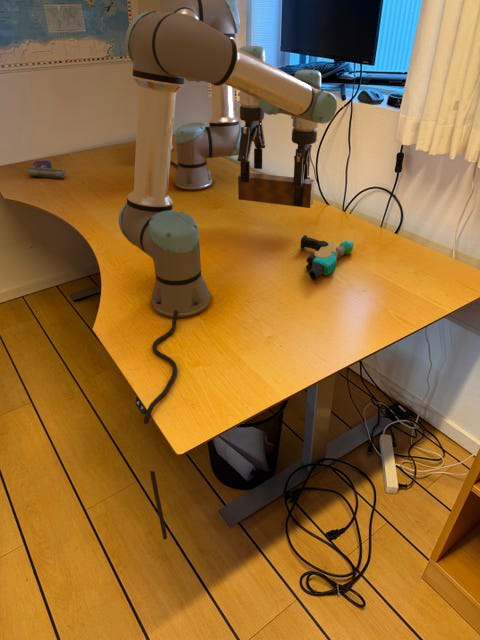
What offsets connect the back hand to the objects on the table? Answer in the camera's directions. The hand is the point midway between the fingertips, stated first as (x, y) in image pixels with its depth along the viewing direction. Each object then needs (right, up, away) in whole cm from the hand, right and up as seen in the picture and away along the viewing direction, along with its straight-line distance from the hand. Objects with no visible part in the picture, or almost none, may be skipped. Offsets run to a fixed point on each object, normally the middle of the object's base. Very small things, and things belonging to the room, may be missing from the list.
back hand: (251, 175), depth 156 cm
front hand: (+16, -9, 0) cm, 18 cm away
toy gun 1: (-87, +17, +53) cm, 103 cm away
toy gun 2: (+19, -31, -14) cm, 39 cm away
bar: (+8, -8, +3) cm, 11 cm away
